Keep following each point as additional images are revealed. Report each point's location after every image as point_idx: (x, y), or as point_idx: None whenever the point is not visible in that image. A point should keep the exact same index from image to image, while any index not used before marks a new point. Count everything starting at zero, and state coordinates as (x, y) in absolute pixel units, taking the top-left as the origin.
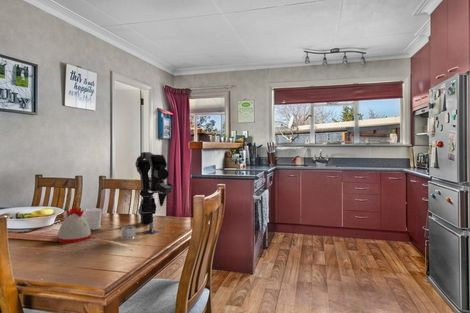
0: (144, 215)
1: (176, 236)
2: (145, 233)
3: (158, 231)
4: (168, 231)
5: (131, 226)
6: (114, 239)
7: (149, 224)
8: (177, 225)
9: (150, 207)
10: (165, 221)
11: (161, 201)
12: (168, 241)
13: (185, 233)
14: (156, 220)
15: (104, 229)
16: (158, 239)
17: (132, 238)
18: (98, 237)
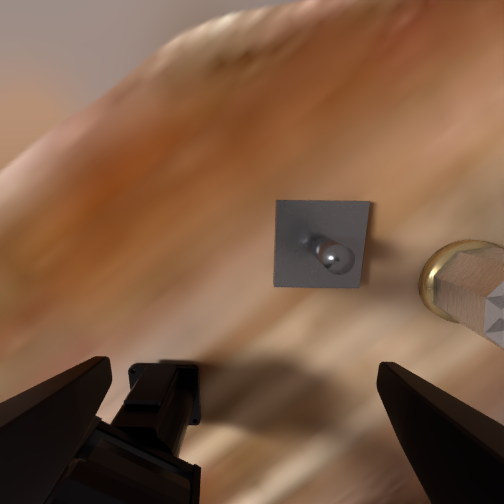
0: (174, 448)
1: (284, 53)
2: (363, 252)
3: (285, 213)
4: (211, 187)
5: (488, 318)
6: None
7: (350, 264)
8: (57, 231)
9: (410, 373)
10: (36, 355)
11: (35, 446)
12: (413, 22)
13: (186, 42)
14: None
15: (354, 483)
16: (399, 119)
17: (490, 243)
18: (484, 414)
